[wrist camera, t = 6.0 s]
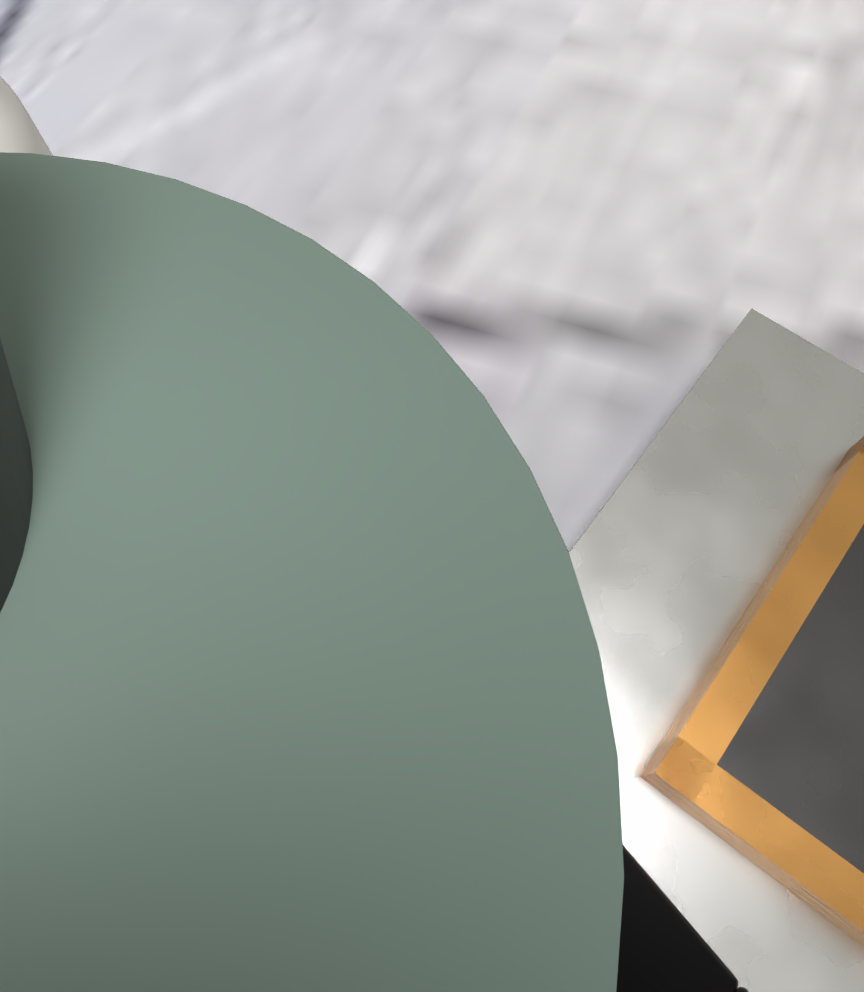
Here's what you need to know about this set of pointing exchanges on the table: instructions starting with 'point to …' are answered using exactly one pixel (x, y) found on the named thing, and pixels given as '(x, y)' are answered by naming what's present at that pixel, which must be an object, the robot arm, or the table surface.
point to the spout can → (275, 627)
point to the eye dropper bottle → (18, 126)
